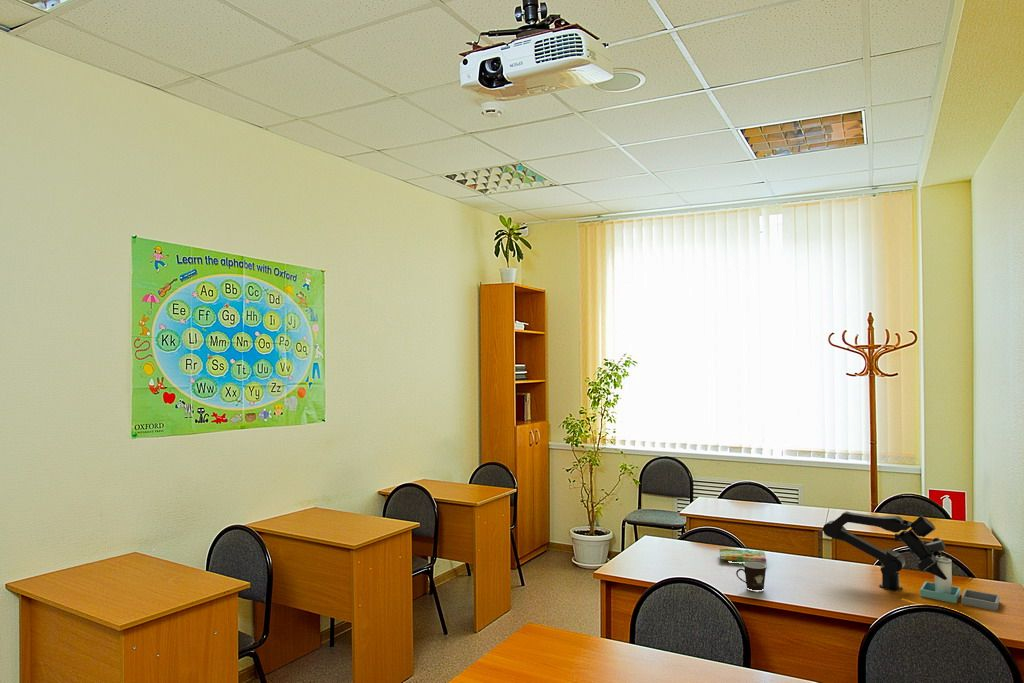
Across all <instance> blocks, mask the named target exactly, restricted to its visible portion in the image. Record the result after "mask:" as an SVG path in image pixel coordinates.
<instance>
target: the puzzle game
mask: <svg viewBox="0 0 1024 683" xmlns="http://www.w3.org/2000/svg"><path fill="white" fill-rule="evenodd" d="M719 559H721V560H727V562H728V561H732V562H745V563H746V562H758V563H762V564H765V565H766V563H767V557H766V554H765V551H764V550H749V549H733V548H732V549H731V548H719Z"/></svg>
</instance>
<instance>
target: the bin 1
mask: <svg viewBox="0 0 1024 683" xmlns="http://www.w3.org/2000/svg"><path fill="white" fill-rule="evenodd" d="M961 593H962V591H961V587H959V586H953V585H952V594H951V595H950V594H945V593H939V592H935V582H931V581H924V582H923V584H922V586H921V587H920V589H919V594H920V595H919V596H920V597H922V598H927V599H932V600H937V601H943V602H947V603H952V604H957V603H958V602H959V599H960V596H962V595H961Z"/></svg>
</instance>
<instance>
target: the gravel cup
mask: <svg viewBox="0 0 1024 683" xmlns="http://www.w3.org/2000/svg"><path fill="white" fill-rule="evenodd" d="M934 559H935V561H937V560H938V567H939V568H940V569H941V570H942V572H943V573H944V574H945V576H946V577H947V579H946V580H944V579H942V578H940V577H938V576H936V575H934V583H935V592H939V593H945V594H950V595H951V594H952V586H953V585H952V583H953V582H952V581H953V580H952V579H953V578H952V577H953V576H952V570H953V568H952V567H953V566H952V561H953V560H952V559H950V558H948V557H946V556H941V557H936V558H934Z"/></svg>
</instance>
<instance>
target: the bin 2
mask: <svg viewBox="0 0 1024 683" xmlns="http://www.w3.org/2000/svg"><path fill="white" fill-rule="evenodd" d="M960 596H961V600H960V601H961V605H965V606H970V607H975V608H979V609H986V610H990V611H995V612H996V611H998V608H999V605H1000V603H1001V602H1000V595H999V594H994V593H988V592H984V591H983V592H982V591H978V590H972V589H969V588H968V589H967V588H965V589H964V590H963V592H962V595H960Z"/></svg>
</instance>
